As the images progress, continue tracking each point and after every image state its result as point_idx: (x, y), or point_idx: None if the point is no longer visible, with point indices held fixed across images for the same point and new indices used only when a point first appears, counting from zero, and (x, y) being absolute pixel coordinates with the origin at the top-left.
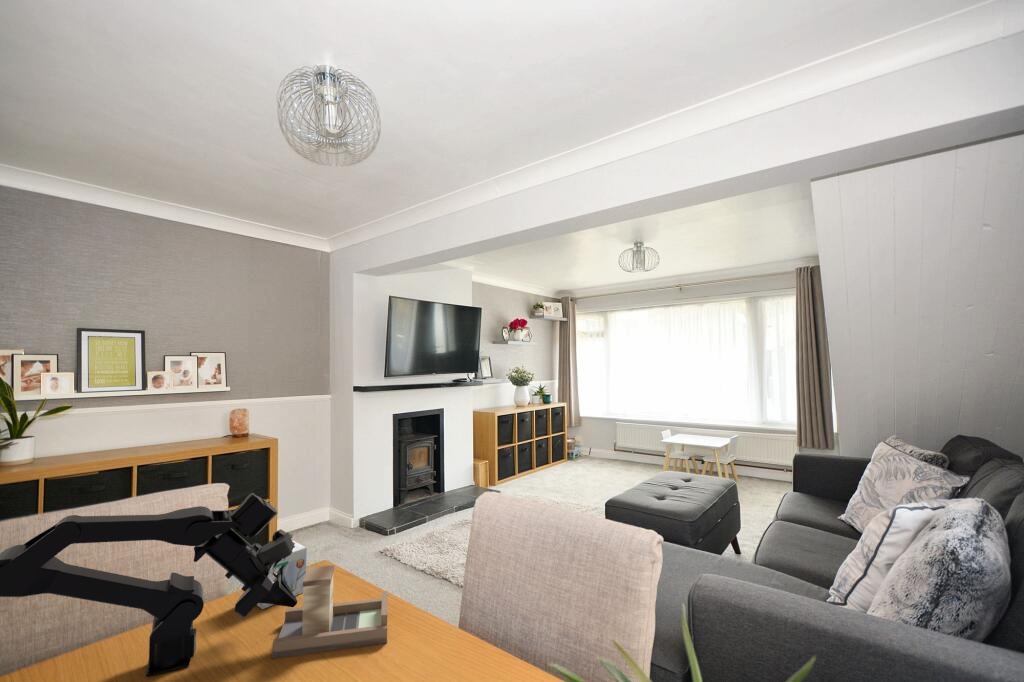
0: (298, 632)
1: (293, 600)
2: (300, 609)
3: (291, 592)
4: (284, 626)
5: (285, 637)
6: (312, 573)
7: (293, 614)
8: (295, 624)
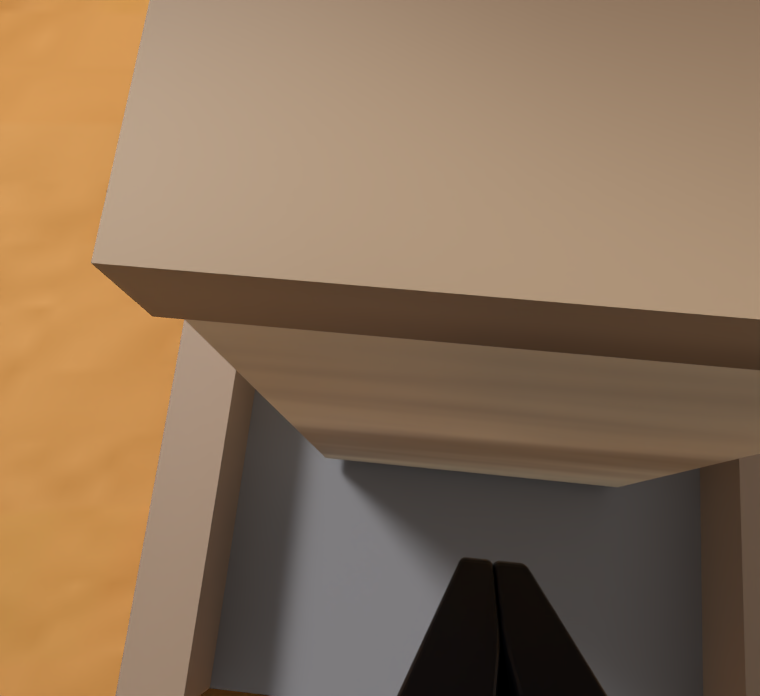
0: (484, 531)
1: (557, 623)
2: (194, 532)
3: (443, 691)
4: (327, 681)
5: (743, 651)
6: (628, 96)
7: (208, 605)
8: (325, 571)
